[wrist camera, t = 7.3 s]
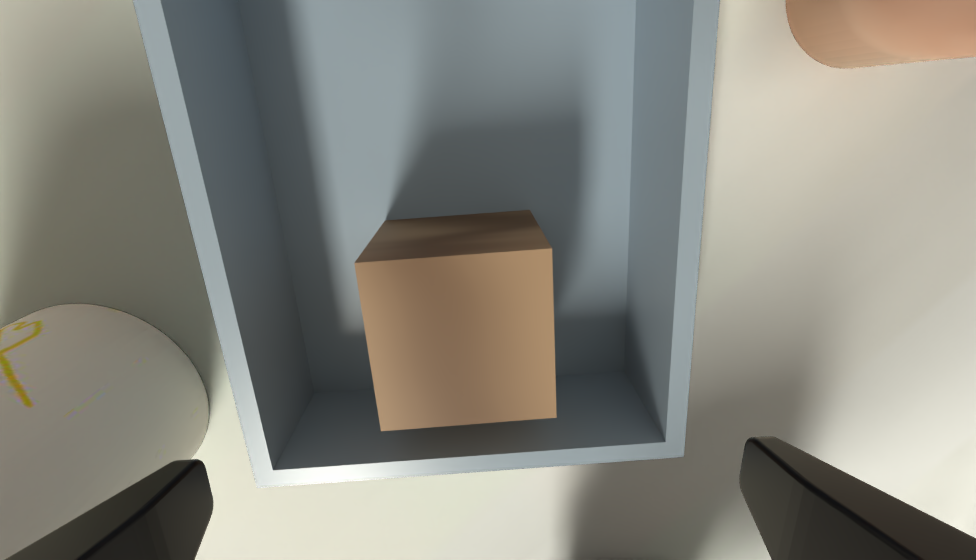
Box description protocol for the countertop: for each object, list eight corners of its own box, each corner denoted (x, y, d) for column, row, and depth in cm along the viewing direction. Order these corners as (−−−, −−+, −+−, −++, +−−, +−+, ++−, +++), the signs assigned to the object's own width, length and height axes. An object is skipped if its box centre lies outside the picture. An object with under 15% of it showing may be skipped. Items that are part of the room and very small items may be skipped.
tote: (634, 376, 21) (683, 457, 16) (306, 399, 20) (256, 487, 16) (654, -141, 15) (739, -254, 10) (202, -116, 15) (77, -219, 10)
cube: (530, 209, 18) (552, 248, 13) (534, 341, 19) (556, 417, 15) (385, 220, 18) (353, 262, 13) (402, 351, 19) (381, 431, 15)
